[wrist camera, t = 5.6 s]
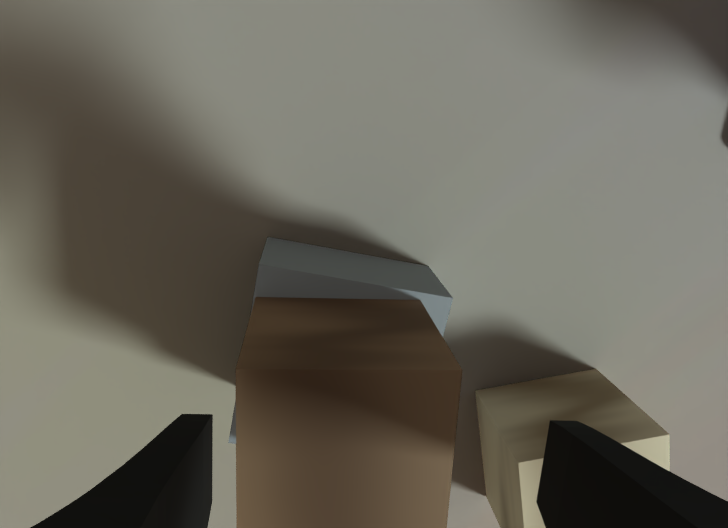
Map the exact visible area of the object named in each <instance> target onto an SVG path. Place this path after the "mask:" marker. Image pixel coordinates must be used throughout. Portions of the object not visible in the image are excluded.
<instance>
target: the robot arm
mask: <svg viewBox="0 0 728 528" xmlns="http://www.w3.org/2000/svg"><path fill="white" fill-rule="evenodd" d="M536 502H537V505H538V508H539V511H540V513H541V516H542V519H543V522H544V524H545V527H546V528H728V501H725V500H723V499H721V498H719V497H717V496H715V495H713V494H711V493H709V492H707V491H705V490H704V489H702V488H700V487H698V486H696V485H694V484H692V483H690V482H688V481H686V480H684V479H682V478H681V477H679V476H677V475H675V474H673V473H671V472H670V471H668V470H666V469H664V468H662V467H661V466H659V465H657V464H655V463H654V462H652V461H650V460H648V459H647V458H645V457H643V456H641V455H640V454H638V453H636V452H634V451H633V450H631V449H629V448H627V447H626V446H624V445H622V444H621V443H619V442H617V441H615V440H614V439H612V438H610V437H608V436H606V435H605V434H603V433H601V432H599V431H597V430H595V429H593V428H592V427H590V426H588V425H585V424H583V423H581V422H579V421H562V420H550V423H549V429H548V435H547V441H546V447H545V453H544V459H543V465H542V470H541V476H540V482H539V488H538V494H537V500H536ZM211 504H212V415H210V414H182V415H180V416H179V417H178V418H177V419H176V420H174V421H173V422H172V423H171V424H170V425H169V426H168V427H166V428H165V429H164V430H163V431H162V432H161V433H160V434H159V435H158V436H156V437H155V438H154V439H153V440H152V441H151V442H150V443H149V444H147V445H146V446H145V447H144V448H143V449H142V450H140V451H139V452H138V453H137V454H136V455H135V456H133V457H132V458H131V459H130V460H129V461H127V462H126V463H125V464H124V465H123V466H121V467H120V468H119V469H117V470H116V471H115V472H113V473H112V474H111V475H109V476H108V477H107V478H105V479H104V480H103V481H102V482H100V483H99V484H98V485H96V486H95V487H94V488H92V489H91V490H90V491H88V492H87V493H85V494H84V495H82V496H81V497H79V498H78V499H76V500H75V501H73V502H72V503H70V504H69V505H67V506H66V507H64V508H63V509H61V510H59V511H58V512H56V513H54V514H53V515H51V516H50V517H48V518H46V519H45V520H43V521H41V522H40V523H38V524H36V525H34V526H33V527H31V528H207V527H208V521H209V515H210V510H211Z"/></svg>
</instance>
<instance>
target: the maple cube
mask: <svg viewBox="0 0 728 528" xmlns="http://www.w3.org/2000/svg"><path fill="white" fill-rule="evenodd" d="M475 394H476V404H477V413H478V423H479V432H480V442H481V451H482V461H483V470H484V479H485V489H486V497H487V499H488V501H489V503H490V506H491V508H492V510H493V512H494V514H495V516H496V519H497V521H498V523H499V525H500V527H501V528H546V527H545V524H544V522H543V519H542V516H541V513H540V511H539V508H538V505H537V502H536V500H537V494H538V488H539V482H540V476H541V470H542V465H543V459H544V453H545V447H546V441H547V435H548V429H549V423H550V420H562V421H579V422H581V423H583V424H585V425H588V426H590V427H592V428H593V429H595V430H597V431H599V432H601V433H603V434H605V435H606V436H608V437H610V438H612V439H614V440H615V441H617V442H619V443H621V444H622V445H624V446H626V447H627V448H629V449H631V450H633V451H634V452H636V453H638V454H640V455H641V456H643V457H645V458H647V459H648V460H650V461H652V462H654V463H655V464H657V465H659V466H661V467H662V468H664V469H666V470H668V471H670V434H668V433H667V432H666V431H665V430H664V429H663V428H662V427H661V426H659V425H658V424H657V423H656V422H655V421H654V420H653V419H652V418H651V417H649V416H648V415H647V414H646V413H645V412H644V411H643V410H642V409H640V408H639V407H638V406H637V405H636V404H635V403H634V402H633V401H631V400H630V399H629V398H628V397H627V396H626V395H625V394H624V393H623V392H621V391H620V390H619V389H618V388H617V387H616V386H615V385H614V384H612V383H611V382H610V381H609V380H608V379H607V378H606V377H605V376H603V375H602V374H601V373H600V372H599V371H598V370H597V369H592V370H586V371H581V372H575V373H570V374H564V375H559V376H553V377H548V378H542V379H536V380H531V381H525V382H520V383H514V384H509V385H503V386H498V387H492V388H487V389H481V390H476V391H475Z"/></svg>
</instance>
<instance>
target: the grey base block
mask: <svg viewBox="0 0 728 528" xmlns="http://www.w3.org/2000/svg"><path fill="white" fill-rule="evenodd" d="M256 297H288V298H343V299H397V300H421V302H422V304H423V305H424V307H425V309H426V310H427V312H428V314H429V315H430V317H431V319H432V320H433V322H434V324H435V325H436V327H437V329H438V330H439V332H440V334H441V335H442V337H443V335H444V331H445V327H446V323H447V319H448V315H449V311H450V308H451V304H452V300H453V298H452V296H451V295H450V294H449V292H448V291H447V290H446V288H445V287H444V286H443V285H442V283H441V282H440V281H439V279H438V278H437V277H436V275H435V274H434V273H433V272H432V270H431V269H430V268H429V266H425V265H420V264H414V263H409V262H403V261H398V260H392V259H387V258H381V257H376V256H370V255H365V254H359V253H354V252H348V251H343V250H338V249H332V248H327V247H321V246H316V245H310V244H305V243H299V242H294V241H288V240H283V239H277V238H272V237H267V240H266V244H265V247H264V250H263V253H262V256H261V259H260V262H259V267H258V273H257V278H256V284H255V290H254V296H253V302H252V308H253V305H254V301H255V298H256ZM252 308H251V312H252ZM250 316H251V314H250ZM228 443H234V444H236V401H235V407H234V413H233V419H232V425H231V431H230V437H229V442H228Z"/></svg>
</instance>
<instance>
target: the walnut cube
mask: <svg viewBox="0 0 728 528" xmlns="http://www.w3.org/2000/svg"><path fill="white" fill-rule="evenodd" d="M461 379H462V369H461V367H460V365H459V364H458V362H457V360H456V359H455V357H454V355H453V354H452V352H451V350H450V349H449V347H448V345H447V344H446V342H445V340H444V339H443V337H442V335H441V334H440V332H439V330H438V329H437V327H436V325H435V324H434V322H433V320H432V319H431V317H430V315H429V314H428V312H427V310H426V309H425V307H424V305H423V304H422V302H421V300H397V299H343V298H288V297H256V298H255V301H254V305H253V308H252V312H251V316H250V319H249V323H248V326H247V330H246V334H245V337H244V341H243V344H242V348H241V352H240V355H239V359H238V362H237V366H236V499H237V528H446V527H447V517H448V507H449V498H450V488H451V478H452V468H453V458H454V448H455V438H456V428H457V418H458V409H459V399H460V389H461Z"/></svg>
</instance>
